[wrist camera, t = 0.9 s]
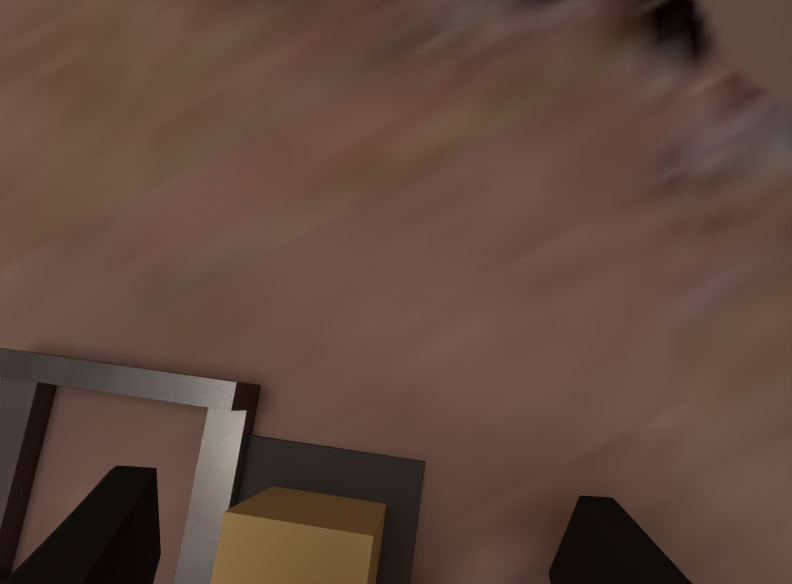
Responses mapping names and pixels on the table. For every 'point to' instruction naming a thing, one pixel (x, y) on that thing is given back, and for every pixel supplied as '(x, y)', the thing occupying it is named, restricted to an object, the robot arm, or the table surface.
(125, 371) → the gray rectangular frame
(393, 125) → the table surface
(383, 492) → the pad
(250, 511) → the block
